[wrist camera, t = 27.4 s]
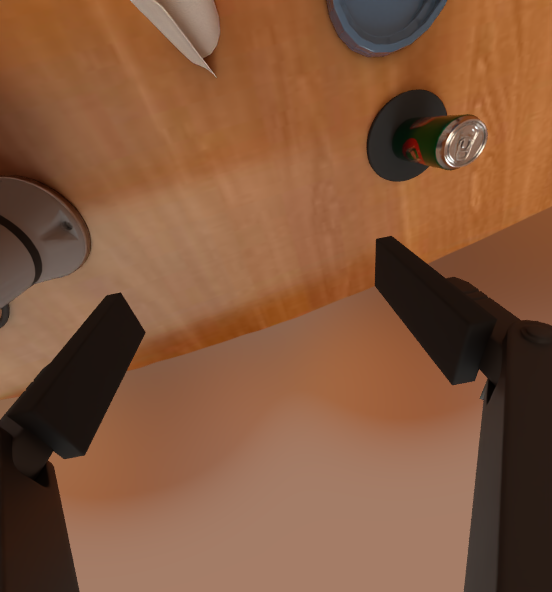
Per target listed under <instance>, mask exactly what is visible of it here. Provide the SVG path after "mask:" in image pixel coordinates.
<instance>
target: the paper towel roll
mask: <svg viewBox="0 0 552 592" xmlns="http://www.w3.org/2000/svg"><path fill="white" fill-rule="evenodd" d="M130 1H131V2H132V3H133V4H134V5H135V6H136V7H137V8H138V9H139V10H140V11H141V12H142V13H143V14H144V15H145V16H146V17H147V18H148V19H149V20H150V21H151V22H152V23H153V24H154V25H155V26H156V27H157V28H158V29H159V30H160V31H161V32H162V33H163V34H164V35H165V36H166V37H167V38H168V40H169V41H170V42H171V43H172V44H173V45H174V46H175V47H176V48H177V49H178V50H179V51H180V52H181V53H182V54H183V55H185V56H186V57H187V58H188V59H189V60H190V61H191V62H192V63H194V64H197V65H199V66H202V67H204V68H206V69H207V70H209V71H210V72H212V70H211V69H210V68H209V66H208V65H207V64H206V62H205V61H204V60H203V58H205V57H207V56H208V55H210V54H211V53H212V52H213V50H214V49H215V47H216V46H217V44H218V39H219V35H220V23H219V15H218V12H217V9H216V6H215V3H214V0H130ZM212 73H213V72H212ZM213 74H214V73H213ZM214 76H215V74H214ZM215 77H216V76H215ZM216 78H217V77H216Z"/></svg>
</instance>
